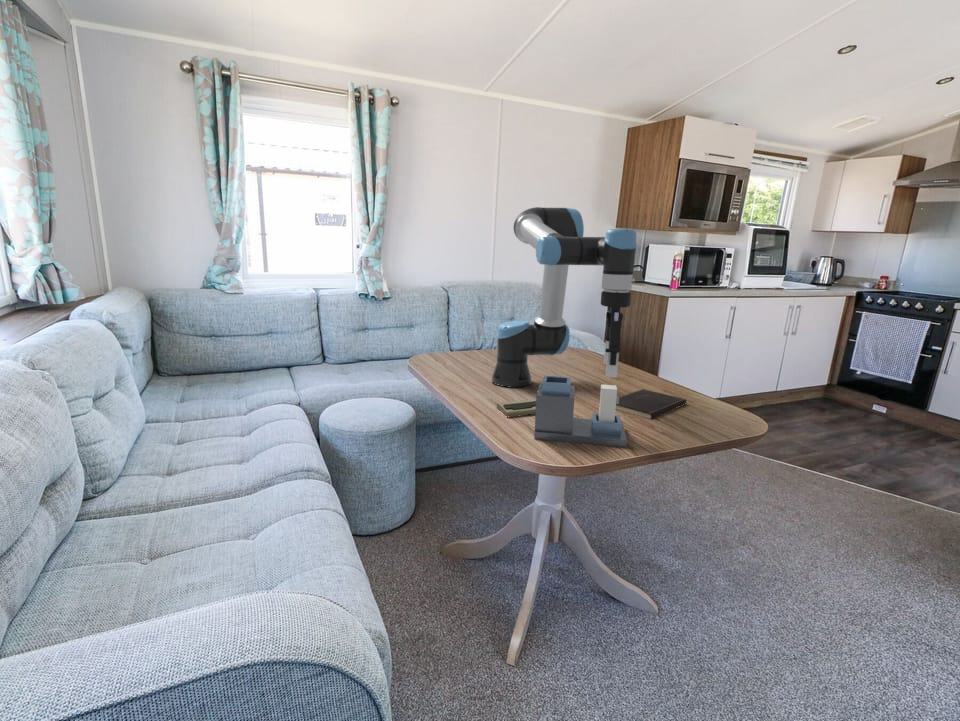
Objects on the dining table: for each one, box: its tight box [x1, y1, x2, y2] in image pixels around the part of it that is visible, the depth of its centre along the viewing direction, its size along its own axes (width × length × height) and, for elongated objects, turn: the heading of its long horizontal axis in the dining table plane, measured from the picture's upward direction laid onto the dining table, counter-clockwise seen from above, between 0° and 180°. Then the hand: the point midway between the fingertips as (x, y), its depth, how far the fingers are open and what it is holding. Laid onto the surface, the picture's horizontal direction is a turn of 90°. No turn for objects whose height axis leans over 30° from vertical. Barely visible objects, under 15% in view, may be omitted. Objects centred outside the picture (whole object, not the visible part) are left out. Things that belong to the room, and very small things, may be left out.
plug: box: [598, 384, 619, 422], centre depth 132 cm, size 5×4×12 cm
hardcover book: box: [616, 388, 687, 420], centre depth 161 cm, size 16×23×2 cm
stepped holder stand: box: [533, 375, 628, 448], centre depth 134 cm, size 24×14×15 cm, turn 78°
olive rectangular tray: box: [496, 398, 536, 418], centre depth 153 cm, size 16×8×3 cm, turn 111°
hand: (609, 370), depth 130 cm, fingers open, 13 cm apart
